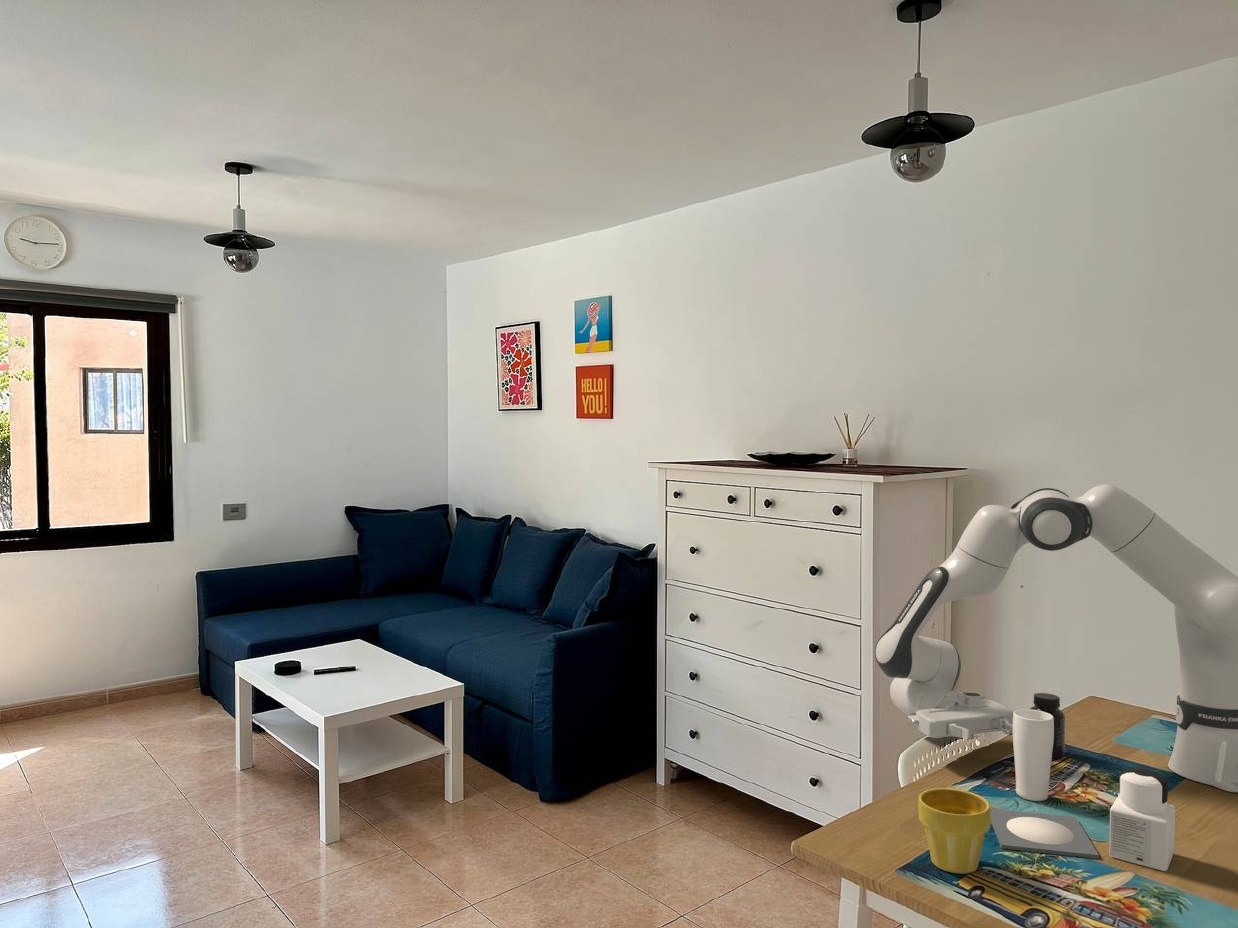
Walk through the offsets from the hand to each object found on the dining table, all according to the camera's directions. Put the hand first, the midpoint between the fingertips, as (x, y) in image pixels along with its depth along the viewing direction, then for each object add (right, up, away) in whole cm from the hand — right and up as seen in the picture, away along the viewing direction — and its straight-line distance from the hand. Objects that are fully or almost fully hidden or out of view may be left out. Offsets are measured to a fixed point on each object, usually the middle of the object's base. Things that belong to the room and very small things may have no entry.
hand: (991, 733), depth 169 cm
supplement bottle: (+16, -8, +11) cm, 21 cm away
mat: (-3, -9, -25) cm, 27 cm away
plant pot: (-21, -9, -35) cm, 42 cm away
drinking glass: (+3, -8, -10) cm, 14 cm away
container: (+9, -9, -33) cm, 35 cm away
